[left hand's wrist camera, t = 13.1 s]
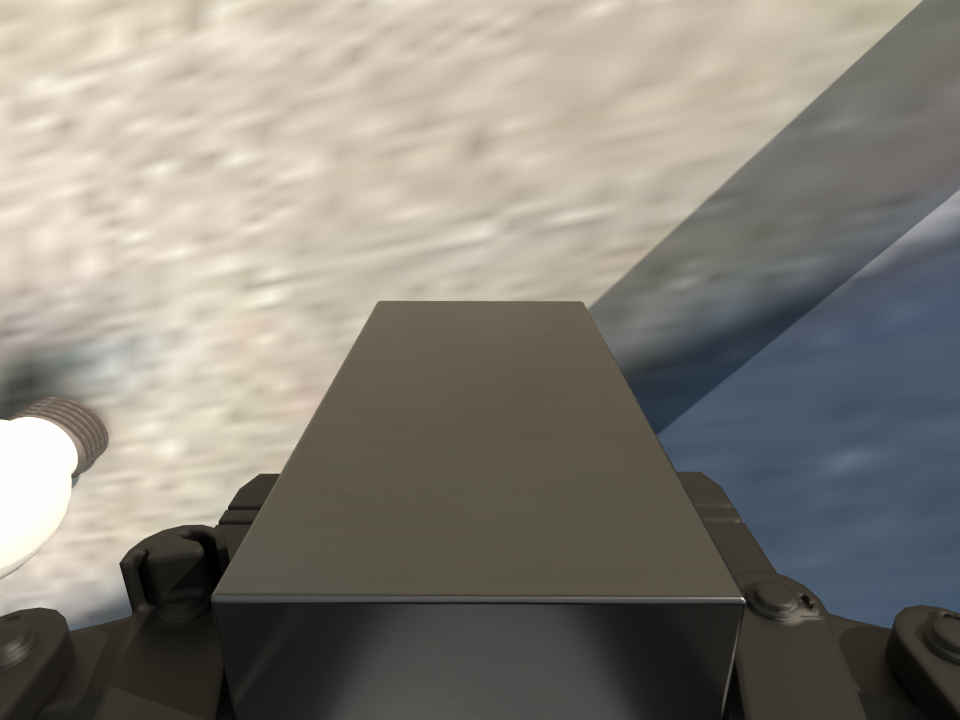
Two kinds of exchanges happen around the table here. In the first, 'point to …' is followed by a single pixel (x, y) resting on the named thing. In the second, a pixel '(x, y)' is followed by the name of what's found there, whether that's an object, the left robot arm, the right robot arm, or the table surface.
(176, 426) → the table surface
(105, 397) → the table surface
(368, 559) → the bar
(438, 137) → the table surface
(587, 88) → the table surface
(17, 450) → the light bulb
